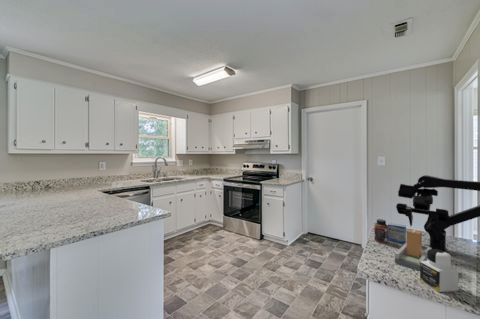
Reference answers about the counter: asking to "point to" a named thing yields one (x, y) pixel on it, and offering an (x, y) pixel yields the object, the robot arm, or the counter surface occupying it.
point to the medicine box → (397, 233)
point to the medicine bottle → (439, 271)
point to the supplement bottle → (381, 231)
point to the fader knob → (414, 243)
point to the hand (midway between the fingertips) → (418, 227)
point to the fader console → (410, 258)
